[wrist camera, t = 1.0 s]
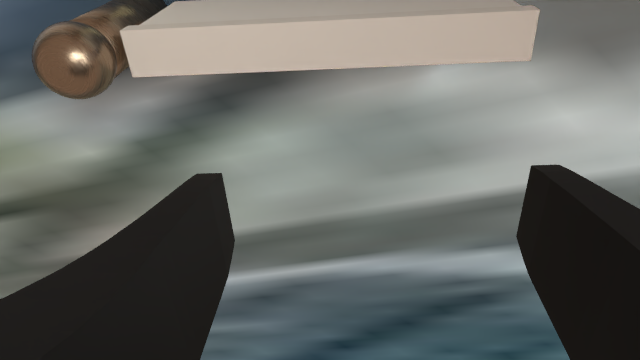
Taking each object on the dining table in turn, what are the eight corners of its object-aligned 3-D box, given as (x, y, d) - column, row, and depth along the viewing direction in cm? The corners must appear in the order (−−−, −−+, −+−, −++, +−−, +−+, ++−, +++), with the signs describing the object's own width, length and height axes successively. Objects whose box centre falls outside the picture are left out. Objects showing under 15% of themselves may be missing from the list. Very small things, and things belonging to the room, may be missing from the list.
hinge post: (177, -3, 18) (99, 47, 12) (170, 51, 19) (95, 120, 13) (119, -22, 18) (12, 21, 12) (116, 35, 19) (16, 98, 13)
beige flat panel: (178, 36, 18) (132, 77, 14) (170, -2, 17) (119, 30, 13) (488, 21, 17) (530, 60, 13) (494, -19, 17) (540, 10, 13)
